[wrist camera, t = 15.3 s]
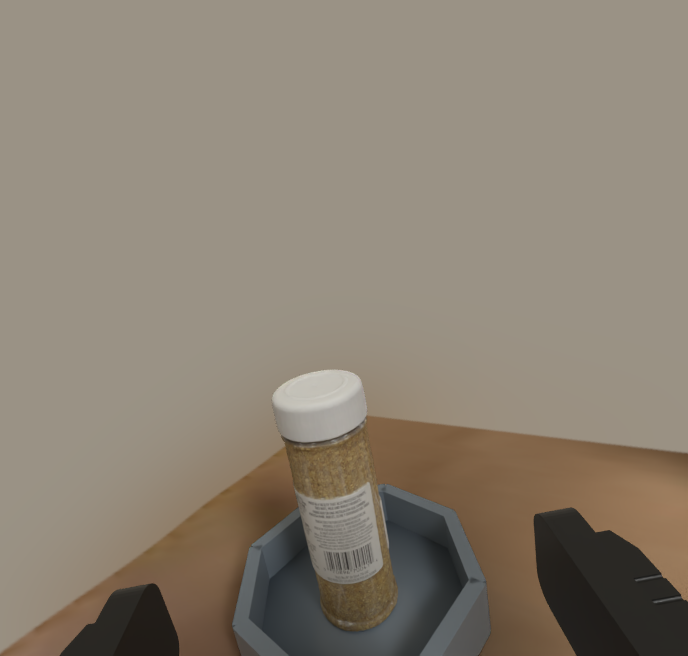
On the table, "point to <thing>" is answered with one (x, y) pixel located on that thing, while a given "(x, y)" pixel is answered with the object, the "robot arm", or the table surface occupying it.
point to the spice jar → (338, 495)
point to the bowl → (411, 577)
